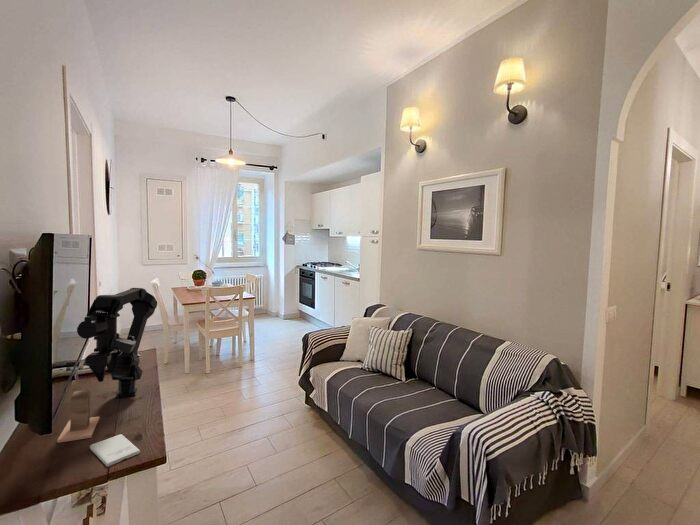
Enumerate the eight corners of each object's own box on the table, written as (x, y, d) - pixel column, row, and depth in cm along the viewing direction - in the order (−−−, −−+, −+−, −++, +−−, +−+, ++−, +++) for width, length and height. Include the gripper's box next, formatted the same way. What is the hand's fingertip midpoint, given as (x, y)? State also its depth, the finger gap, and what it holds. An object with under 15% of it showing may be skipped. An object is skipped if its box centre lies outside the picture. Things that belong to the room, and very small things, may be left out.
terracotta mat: (69, 422, 110) (69, 420, 110) (99, 418, 114) (99, 416, 114) (57, 442, 100) (57, 440, 100) (90, 437, 103) (90, 435, 103)
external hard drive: (121, 438, 105) (140, 455, 98) (89, 450, 98) (107, 468, 91) (121, 433, 105) (140, 449, 98) (89, 445, 98) (107, 463, 91)
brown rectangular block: (73, 425, 108) (75, 391, 107) (89, 423, 109) (90, 389, 109) (70, 431, 104) (71, 396, 104) (86, 429, 106) (87, 395, 105)
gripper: (125, 336, 111) (124, 384, 111) (140, 325, 129) (140, 366, 129) (84, 338, 107) (83, 387, 108) (106, 327, 125) (105, 369, 125)
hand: (106, 377), depth 117 cm, fingers open, 9 cm apart
